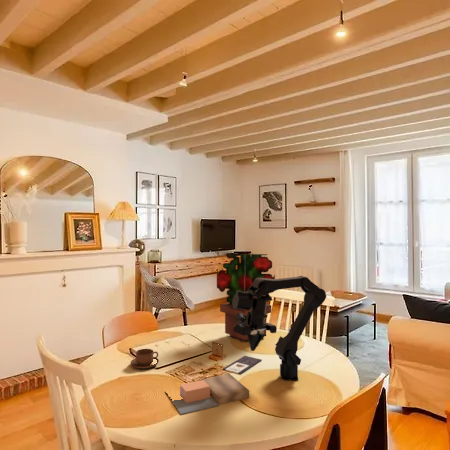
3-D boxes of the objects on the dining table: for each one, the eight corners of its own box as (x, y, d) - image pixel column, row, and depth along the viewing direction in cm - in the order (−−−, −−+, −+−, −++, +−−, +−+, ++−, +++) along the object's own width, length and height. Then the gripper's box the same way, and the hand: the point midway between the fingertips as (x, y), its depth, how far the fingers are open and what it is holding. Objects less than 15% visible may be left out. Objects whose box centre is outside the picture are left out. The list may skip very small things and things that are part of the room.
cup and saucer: (146, 358, 172) (146, 345, 172) (164, 364, 165) (164, 350, 165) (124, 366, 163) (124, 352, 163) (142, 373, 155) (142, 358, 155)
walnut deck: (229, 380, 149) (229, 373, 149) (249, 397, 134) (249, 390, 134) (201, 385, 143) (201, 379, 143) (218, 404, 129) (218, 397, 129)
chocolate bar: (261, 359, 169) (241, 373, 154) (261, 361, 169) (241, 375, 154) (244, 355, 174) (222, 368, 159) (244, 357, 174) (222, 370, 159)
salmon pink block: (203, 379, 138) (180, 384, 135) (210, 386, 133) (185, 391, 129) (203, 390, 138) (180, 395, 135) (210, 397, 133) (185, 403, 129)
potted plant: (246, 328, 218) (246, 251, 217) (274, 338, 201) (274, 254, 200) (216, 336, 204) (216, 253, 203) (244, 347, 187) (244, 257, 186)
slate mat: (199, 384, 144) (199, 383, 144) (218, 406, 128) (218, 404, 128) (165, 391, 138) (165, 390, 138) (180, 414, 122) (180, 413, 122)
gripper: (259, 305, 158) (254, 342, 158) (226, 306, 146) (221, 346, 146) (279, 312, 150) (274, 351, 149) (246, 313, 138) (240, 355, 137)
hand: (252, 350), depth 145 cm, fingers closed
